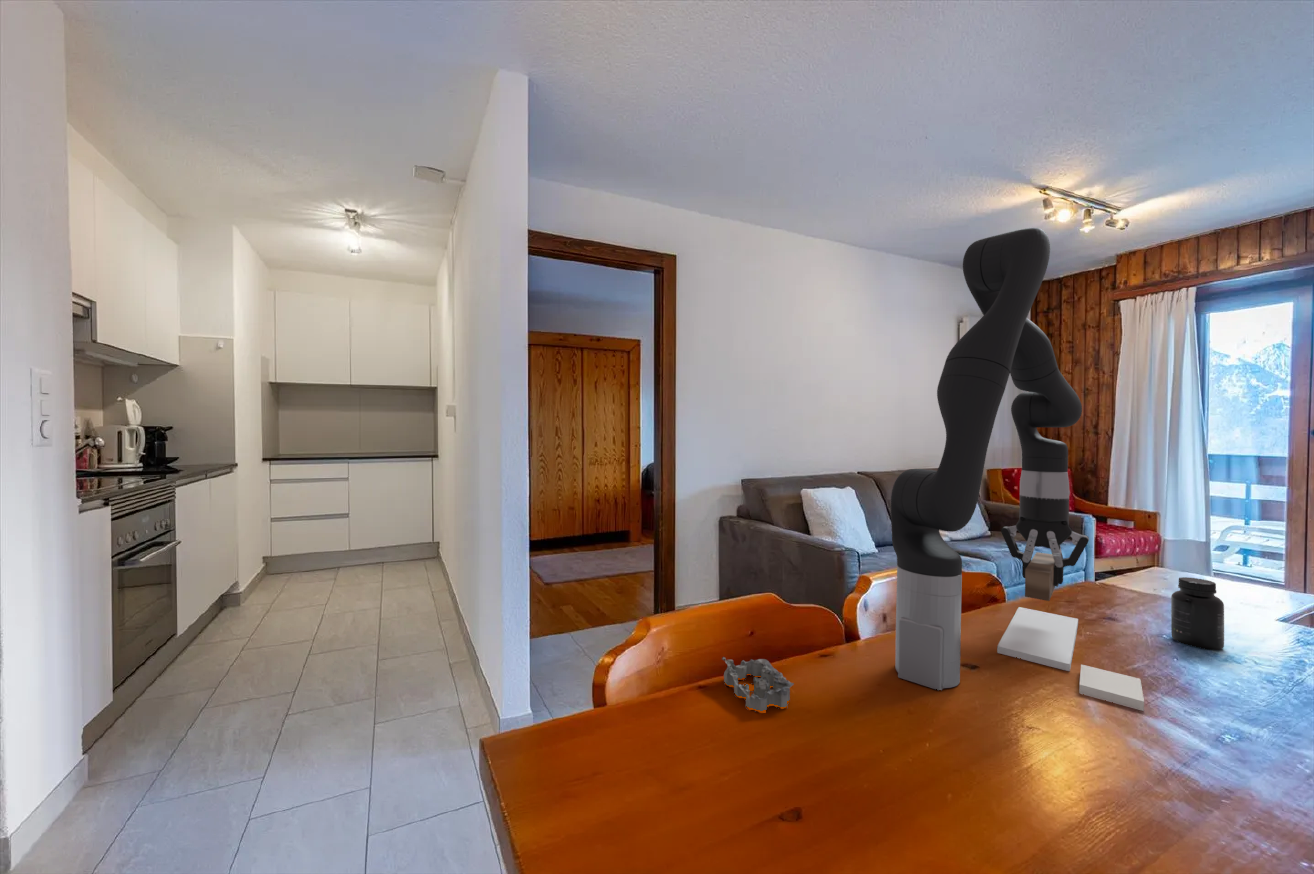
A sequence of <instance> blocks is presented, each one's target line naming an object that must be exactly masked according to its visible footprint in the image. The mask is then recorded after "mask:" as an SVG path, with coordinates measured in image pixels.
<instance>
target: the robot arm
mask: <svg viewBox="0 0 1314 874" xmlns="http://www.w3.org/2000/svg"><path fill="white" fill-rule="evenodd" d="M1049 238H1050V237H1049V236H1048V234H1047V233H1046V232H1045V231H1044V230H1043V229H1042V228H1038V227H1029V228H1021V229H1016V230H1013V231H1009V232H1005V233H1001V234H997V235H993V236H992V235H991V236H988V237H985V238H981V239H978V240H976V241H974V242H972V243H971V244H970V245H969V246H968V247H967V248H966V251H965V253H964V255H963V259H962V271H963V276H964V280H965V283H966V285H967V288H968V290H969V291H970V293H971V295H972V298H973V299H974V301H975V302H976V304H977V306H978V308H979V310H980V311H981V313H982V316H981V318H980V319H979V320H978V321H977V322H976V323H975V324H973V326H972V327H971V328H970V329H969V330H967V331H966V332H965V334H963V335H962V337H960V338H959V340H958V341H957V342H956V343H955V344H954V346H953V347H952V348H951V349H950V351H949V352H948V355H947V356H946V359H945V362H944V366H943V368H942V371H941V375H940V377H939V380H938V381H939V382H938V385H937V388H936V396H937V403H938V407H939V411H940V414H941V417H942V421H943V424H944V428H945V434H946V435H945V436H946V438H945V445H944V449H943V453H942V456H941V460H940V463H939V465H938V468H937V470H932V469H921V468H913V469H911V468H910V469H907V470H905V471H903V472H902V473H901V474H899V476H898V477H897V478H896V479H895V481H894V484H893V485H892V490H891V495H890V521H891V522H890V523H891V524H890V525H891V542H892V544H891V545H892V546H893V549H894V552H895V554H896V601H895V602H896V604H895V607H896V608H895V609H896V610H895V661H894V662H895V665H894V666H895V671H896V672H897V677H898V678H899V679H903V680H905V681H909V682H911V683H914V684H918V685H921V686H924V687H928V688H930V689H933V690H936V689H937V691H939V690H941V691H943V690H944V689H951V688H955V687H957V686H958V685H959V684H961V683H960V681H961V641H962V640H961V636H962V635H961V634H962V633H961V630H962V593H963V591H962V588H963V587H962V582H963V574H962V573H963V559H962V557H961V555H960V554H959V552H957V551H956V549H953V548H952V547H951V546H950V545H949V544H948V543H947V542H946V541H945V539H943V537H942V535H941V533H940V531H944V532H949V533H950V532H953V533H954V532H957V531H960V530H962V529H963V528H964V527H966V526H968V525H967V524H969V522H970V521H971V519H972V517H973V515H974V513H975V511H976V508H977V505H978V502H979V501H978V500H979V497H980V496H979V495H980V491H981V485H982V480H983V474H984V469H985V463H986V458H987V452H988V448H989V443H990V439H991V437H992V433H993V428H994V424H995V422H996V418H997V414H998V411H999V407H1000V405H1001V402H1002V400H1003V396H1004V393H1005V391H1006V387H1007V385H1008V381H1009V379H1010V377H1011V380H1012V383H1013V386H1015V388H1016V389H1018V390H1020V391H1023V392H1022V393H1019V394H1018V395H1017V396H1015V398H1014V399H1013V401H1012V403H1011V406H1010V407H1011V409H1010V412H1011V413H1010V414H1011V416H1012V421H1013V423H1014V426H1015V429H1016V431H1017V435H1018V438H1019V443H1020V447H1021V471H1020V473H1021V474H1020V479H1019V510H1018V512H1019V517H1018V518H1019V519H1018V521H1017V522H1016V524H1015V525H1012V526H1011V525H1010V526H1008V525H1007V526H1003V527H1002V528H1001V529H1000V533H1001V534H1002V535H1001V536H1003V539H1004V541H1005V544H1006V547H1007V549H1008V551H1009V553H1010V555H1011V557H1013V558H1015V559H1018V560H1020V561H1021V563H1022V564H1021V565H1022V567H1021V569H1022V570H1021V573H1022V577H1023V578H1024V579H1025V569H1026V567H1027V566H1028V564H1029V563H1030V561H1031V560H1032V558H1033V556H1034V555H1033V554H1034V551H1035V548H1039V547H1043V548H1046V549H1050V552H1051V554H1052V555H1053V558H1054V562H1055V566H1054V586H1055V588H1058V587H1059V585H1062V584H1063V582H1064V568H1065V567H1068V566H1069V567H1074V566H1076V564H1077V562H1078V561H1079V559H1080V557H1081V556H1082V554H1083V552H1084V550H1085V549H1086V547H1087V545H1088V542H1089V540H1090V538H1089V536H1087V535H1086V534H1081V533H1078V532H1075V531H1073V528H1072V527H1071V526H1070V494H1071V491H1070V480H1069V479H1070V478H1069V474H1068V473H1069V448H1068V446H1067V443H1065V442H1063V441H1060V440H1056V439H1051V438H1046V437H1043V436H1042V435H1041V434H1040V433H1039V431H1038V428H1068V427H1069V428H1070V427H1071V426H1074V425H1075V424H1077V423H1078V421H1079V420H1080V418H1081V416H1082V413H1083V406H1082V402H1081V399H1080V397H1079V396H1078V393H1076V391H1075V390H1074V389H1073V387H1072V386H1071V385H1070V383H1069V382H1068V381H1067V380H1066V378H1065V377H1064V375H1063V374H1062V372H1061V371H1060V369H1059V366H1058V363H1057V360H1056V356H1055V351H1054V348H1053V345H1052V343H1051V340H1050V339H1049V337H1048V336H1047V334H1046V333H1045V332H1044V331H1043V330H1042V329H1041V328H1040V327H1039V326H1038V325H1037V324H1035V323H1034V322H1033V321H1032V320H1030V319H1029V318H1028V316H1029V313H1030V311H1031V309H1032V306H1033V304H1034V302H1035V299H1036V297H1037V295H1038V292H1039V290H1040V288H1041V285H1042V282H1043V280H1044V278H1045V275H1046V272H1047V269H1048V266H1049V262H1050V256H1051V243H1050V239H1049ZM1017 531H1018V532H1019V534H1020V535H1021V536H1022V538H1023V539H1024V540H1025V542H1026V544H1025V547H1024V552H1022V551H1020V548H1019V547H1018V544H1017V542H1016V540H1015V537H1016V535H1017ZM1070 537H1071V539H1072V541H1071V543H1072V544H1073V545H1074V548H1073V550H1072V552H1071V553H1070V555H1069V557H1066V558H1065V557H1063V556H1064V555H1063V552H1062V547H1061V545H1062V544H1063V543H1064V542H1066V541H1067V539H1068V538H1070Z"/></svg>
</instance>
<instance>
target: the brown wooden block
mask: <svg viewBox="0 0 1314 874" xmlns="http://www.w3.org/2000/svg"><path fill="white" fill-rule="evenodd" d="M1054 566H1055V562H1054V558H1053V555H1052V553H1045V552H1044V553H1043V552H1039V551H1037V552H1036V553H1035V554H1034V555H1033V556H1032V558H1031V561H1030V563H1029V564H1028V566H1027V567H1026V569H1025V578H1024V597H1026V598H1031V599H1036V600H1040V601H1046V602H1050V601H1051V599H1052V596H1053V593H1054V590H1055V588H1056V586H1054Z"/></svg>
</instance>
